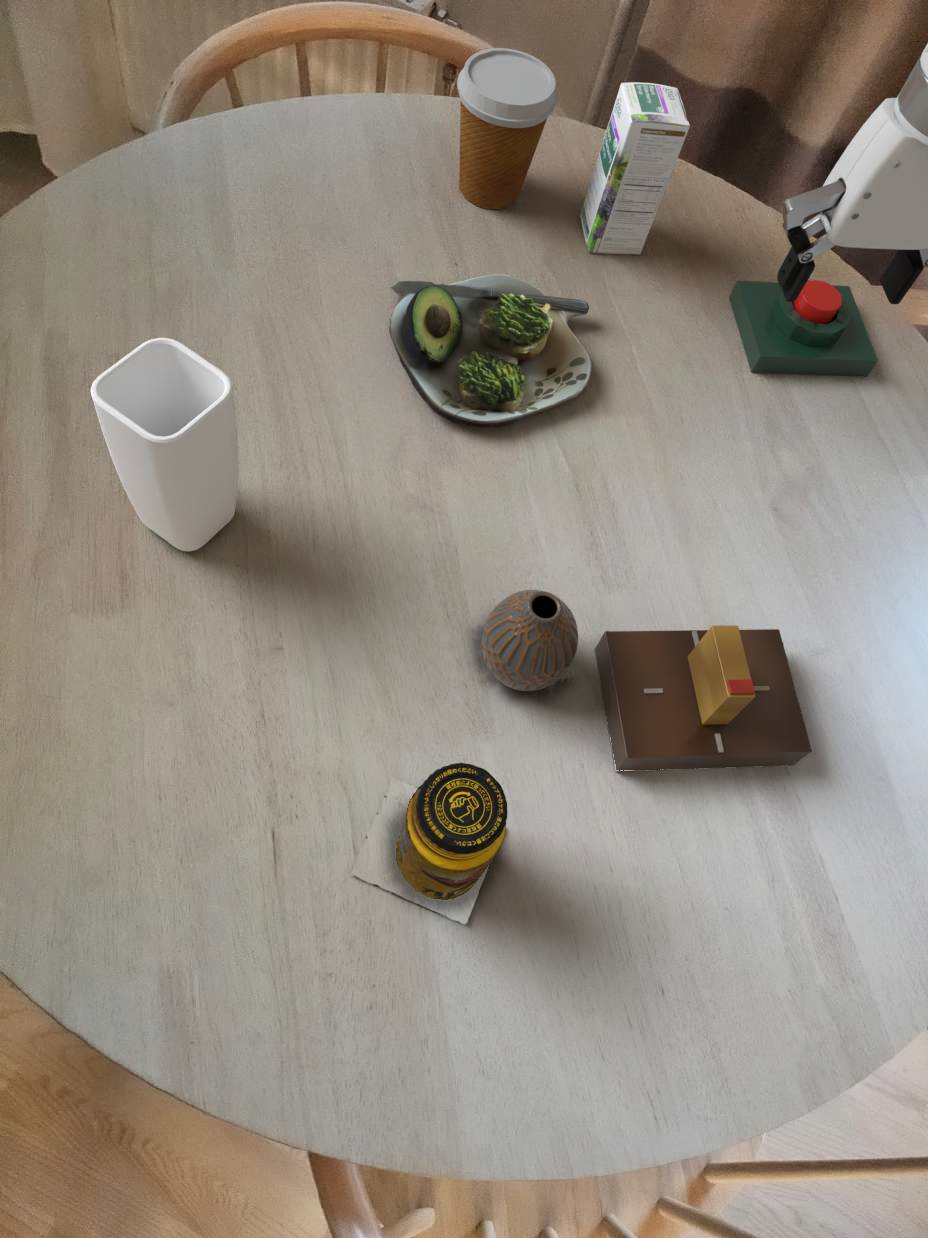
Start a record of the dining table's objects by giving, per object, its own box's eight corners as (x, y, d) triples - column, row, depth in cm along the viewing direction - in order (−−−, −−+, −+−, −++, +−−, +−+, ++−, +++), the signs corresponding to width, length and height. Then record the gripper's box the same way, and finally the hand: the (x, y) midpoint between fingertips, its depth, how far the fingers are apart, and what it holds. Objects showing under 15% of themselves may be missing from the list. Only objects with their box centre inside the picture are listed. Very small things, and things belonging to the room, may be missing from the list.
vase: (517, 721, 70) (542, 670, 62) (456, 654, 72) (474, 596, 64) (583, 669, 72) (614, 615, 65) (522, 606, 74) (546, 546, 67)
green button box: (838, 302, 97) (858, 271, 93) (866, 377, 92) (888, 347, 89) (728, 297, 95) (744, 265, 91) (751, 373, 90) (768, 342, 87)
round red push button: (827, 294, 92) (835, 280, 90) (838, 325, 90) (847, 311, 88) (788, 292, 91) (796, 278, 89) (799, 323, 89) (807, 309, 88)
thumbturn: (686, 656, 71) (712, 623, 66) (712, 656, 71) (739, 623, 66) (701, 725, 68) (729, 696, 64) (728, 724, 68) (757, 695, 64)
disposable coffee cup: (503, 234, 95) (527, 122, 84) (425, 189, 96) (438, 74, 86) (551, 187, 99) (579, 76, 89) (475, 146, 101) (494, 31, 90)
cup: (186, 464, 76) (160, 327, 63) (256, 513, 75) (243, 384, 62) (119, 521, 73) (77, 389, 60) (190, 573, 72) (163, 450, 59)
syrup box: (577, 215, 98) (617, 78, 85) (632, 217, 99) (679, 83, 86) (587, 254, 95) (629, 119, 82) (643, 256, 96) (693, 123, 83)
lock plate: (763, 646, 76) (780, 627, 73) (794, 765, 71) (813, 750, 68) (594, 649, 73) (605, 630, 71) (615, 772, 69) (627, 757, 66)
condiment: (466, 927, 62) (497, 885, 52) (348, 875, 63) (355, 823, 52) (504, 826, 66) (540, 768, 55) (392, 778, 66) (407, 712, 56)
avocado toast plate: (544, 261, 94) (554, 222, 90) (635, 393, 87) (650, 357, 83) (363, 304, 87) (365, 264, 83) (446, 449, 81) (453, 414, 77)
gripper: (1041, 77, 70) (912, 263, 85) (827, 61, 67) (732, 257, 82) (1084, 144, 66) (941, 325, 81) (860, 130, 63) (755, 321, 78)
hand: (837, 291), depth 81 cm, fingers open, 9 cm apart
